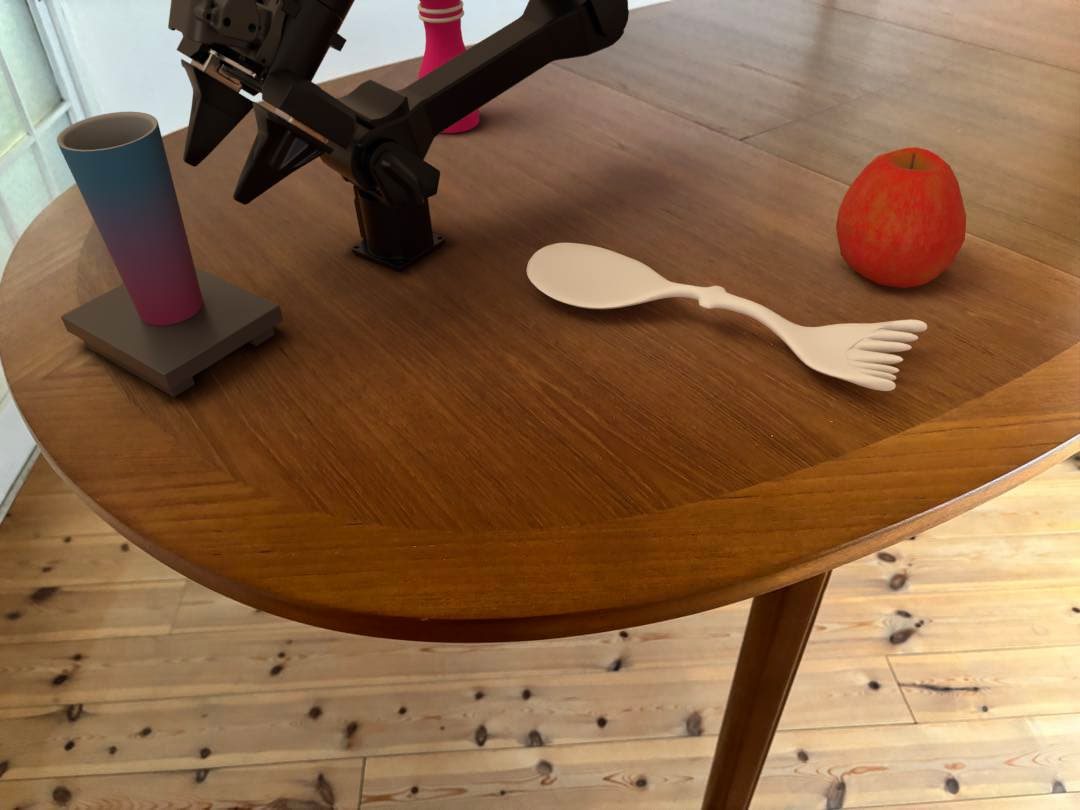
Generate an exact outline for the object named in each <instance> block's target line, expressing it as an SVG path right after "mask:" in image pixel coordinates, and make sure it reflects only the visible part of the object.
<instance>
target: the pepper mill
mask: <svg viewBox="0 0 1080 810" xmlns="http://www.w3.org/2000/svg"><path fill="white" fill-rule="evenodd" d="M418 1H419V3H418V4H417V10H418V19H420V21H422V22H423V27H424V33H425V46H424V47H425V48H424V53H423V57H422V61H421V64H420V68H419V70H418V74H417V75H418V76H417V80H419V79H420V78H422V77H423V76H425V75H427V74H428V73H430V72H432V71H433V70H435V69H437V68H438V67H440V66H441V65H443V64H445V63H446V62H448V61H450V60H451V59H453V58H454V57H456V56H458V55H459V54H461V53H463V52H464V51H466V50H467V48H466V46H465V44H464V43H465V42H464V39H463V33H462V32H463V31H462V18H463V16H464V15H465V10H464V2H463V0H418ZM479 123H480V110H479V109H477V110H476V111H474V112H473V113H471V114H469V115H468V116H466V117H465V118H463V119H462V120H460V121H459V122H457V123H455V124H454V125H452V126H451V127H449V128H448V129H446V130H445V131H443V132H441V133H440V134H458V133H459V134H460V133H463V132H467V131H469V130H472V129H474V128H476V127H477V126H478V125H479Z"/></svg>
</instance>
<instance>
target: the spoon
mask: <svg viewBox="0 0 1080 810" xmlns="http://www.w3.org/2000/svg"><path fill="white" fill-rule="evenodd" d="M526 266H527V267H526V275H527V277H528V279H529V281H530V282H531V283H532V285H534V287H535V288H536V289H538V290H539V291H540V292H542V293H543V294H544V295H546V296H548V297H550V298H551V299H553V300H555V301H558V302H560V303H563V304H565V305H569V306H571V307H572V306H573V307H577V308H581V309H590V310H611V309H619V308H620V309H621V308H625V307H630V306H632V307H633V306H636V305H641V304H644V303H649V302H653V301H657V300H662V299H663V300H664V299H670V298H686V299H692V300H695V301H697V302H698V305H699V307H700V308H702V309H705V310H713V309H721V310H727V311H731V312H734V313H739V314H742V315H745V316H747V317H750V318H751V319H754V320H756V321H757V322H759V323H760V324H762V325H764V326H765V327H767V328H768V329H769V330H770V331H772V332H773V333H774V334H775V335H776V336H777V337H778V338H780V339H781V341H783V342H784V343H785V344H786V346H787V347H788V348H789V349H790V350H791V351H792V352H793V354H795V355H796V357H797V358H798V359H799V360H800V361H801V362H802V363H803V365H806V366H807V367H808V368H810V369H811V370H813V371H815V372H818V373H820V374H823V375H825V376H828V377H832V378H835V379H839V380H842V381H846V382H849V383H852V384H855V385H856V386H860V387H863V388H866V389H870V390H874V391H880V392H890V391H891V392H892V391H893V390H895V389H896V386H897V384H896V383H895V382H894V381H895V380H896V379H897V376H896V375H895V374H897V373H899V372H900V369H899V368H897V367H894V366H891V365H894V364H898V363H899V364H900V363H902V362H903V361H904V358H903V357H902V356H900V355H896V354H891V353H900V352H906V351H910V350H911V349H912V348H913V347H912V345H910V344H907V343H910V342H914V341H917V340H918V339H919V336H918V335H916V334H914V333H921V332H922V333H923V332H925V331H926V330H927V329H928V325H927V323H926V322H924V321H922V320H919V319H911V318H910V319H898V320H890V321H889V320H888V321H882V322H872V323H871V322H870V323H869V322H867V323H866V322H865V323H860V322H859V323H857V322H856V323H853V322H852V323H834V324H829V325H828V324H827V325H821V326H803V325H800V324H796V323H794V322H792V321H790V320H787V318H784V317H783V316H781V315H780V314H778V313H777V312H774V311H773V310H771V309H770V308H768V307H766V306H764V305H762V304H760V303H757V302H755V301H752V300H750V299H747V298H744V297H741V296H737V295H734V294H731V293H729V292H727V291H726V288H724V287H723V286H720V285H712V286H697V285H692V284H686V283H680V282H679V283H678V282H674V281H670V280H668V279H667V278H665V277H664V276H662V275H661V274H659V273H658V272H656V271H655V270H654V269H653V268H651V267H650V266H648V265H646V263H645V264H644V263H643V262H641V261H639V260H636V259H634V258H631V257H629V256H626V255H624V254H621V253H618V252H616V251H613V250H611V249H607V248H603V247H600V246H596V245H591V244H586V243H577V242H557V243H551V244H549V245H545V246H543V247H542V248H540V249H538V250H537V251H535V253H533V254H532V255H531V257H530V258H529V260H528V262H527V265H526Z"/></svg>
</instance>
